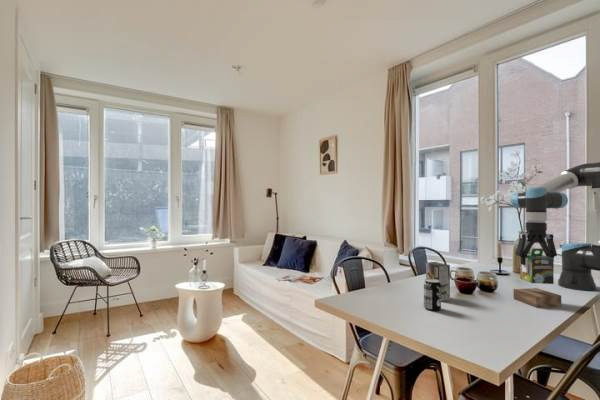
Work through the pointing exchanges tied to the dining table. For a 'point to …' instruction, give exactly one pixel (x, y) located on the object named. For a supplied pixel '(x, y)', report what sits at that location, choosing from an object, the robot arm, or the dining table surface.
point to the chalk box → (538, 268)
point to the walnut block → (537, 297)
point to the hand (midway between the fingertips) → (536, 272)
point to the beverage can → (432, 294)
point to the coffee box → (440, 277)
